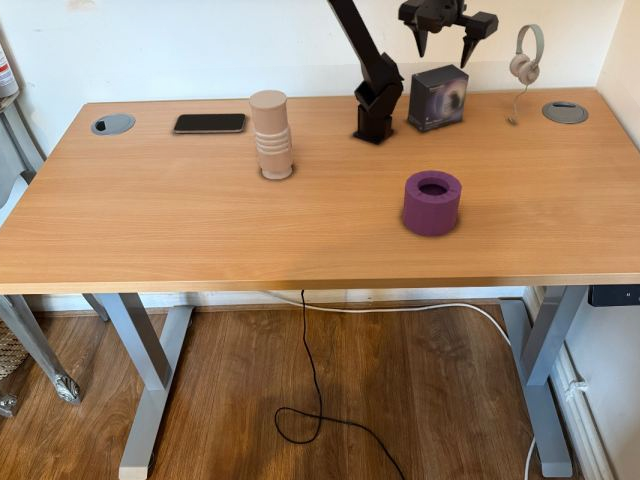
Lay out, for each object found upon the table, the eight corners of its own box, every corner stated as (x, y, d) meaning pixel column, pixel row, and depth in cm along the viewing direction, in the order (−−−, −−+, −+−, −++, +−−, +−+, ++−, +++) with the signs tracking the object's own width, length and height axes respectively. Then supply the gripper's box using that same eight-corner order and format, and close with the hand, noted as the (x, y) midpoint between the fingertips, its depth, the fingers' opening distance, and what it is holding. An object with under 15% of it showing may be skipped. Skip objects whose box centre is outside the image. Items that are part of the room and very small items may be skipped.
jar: (392, 223, 93) (395, 190, 88) (420, 197, 98) (423, 164, 93) (439, 243, 89) (444, 210, 84) (465, 215, 94) (471, 181, 89)
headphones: (529, 130, 113) (554, 32, 98) (512, 133, 112) (535, 35, 98) (512, 111, 119) (533, 16, 104) (495, 114, 118) (514, 19, 104)
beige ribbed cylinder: (287, 183, 102) (279, 110, 91) (254, 177, 104) (242, 105, 93) (299, 163, 107) (293, 92, 96) (267, 158, 108) (257, 87, 97)
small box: (422, 134, 113) (427, 86, 105) (406, 121, 117) (409, 74, 109) (463, 121, 116) (470, 74, 109) (445, 109, 120) (451, 62, 113)
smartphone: (241, 129, 115) (172, 130, 115) (242, 132, 115) (173, 133, 116) (245, 113, 120) (179, 114, 120) (246, 115, 120) (180, 116, 121)
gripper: (383, -21, 96) (380, 65, 107) (478, -1, 87) (464, 90, 99) (416, -37, 102) (410, 46, 113) (507, -20, 93) (491, 68, 105)
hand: (441, 62), depth 107 cm, fingers open, 9 cm apart
